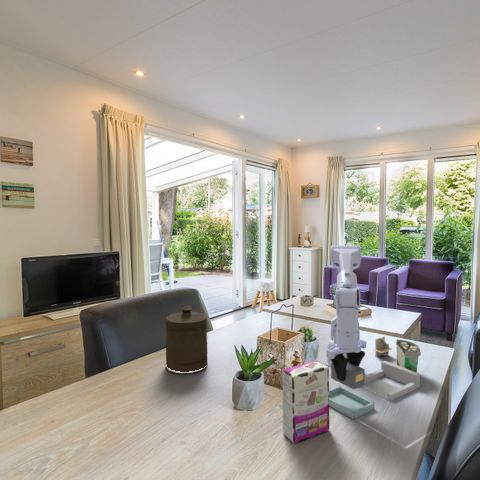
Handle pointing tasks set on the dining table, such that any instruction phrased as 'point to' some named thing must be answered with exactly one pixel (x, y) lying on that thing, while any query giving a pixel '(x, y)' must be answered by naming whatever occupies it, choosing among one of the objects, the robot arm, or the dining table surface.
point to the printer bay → (394, 373)
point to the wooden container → (186, 340)
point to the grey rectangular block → (351, 376)
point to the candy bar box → (305, 401)
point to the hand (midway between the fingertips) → (346, 377)
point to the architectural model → (381, 347)
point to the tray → (349, 402)
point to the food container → (407, 354)
